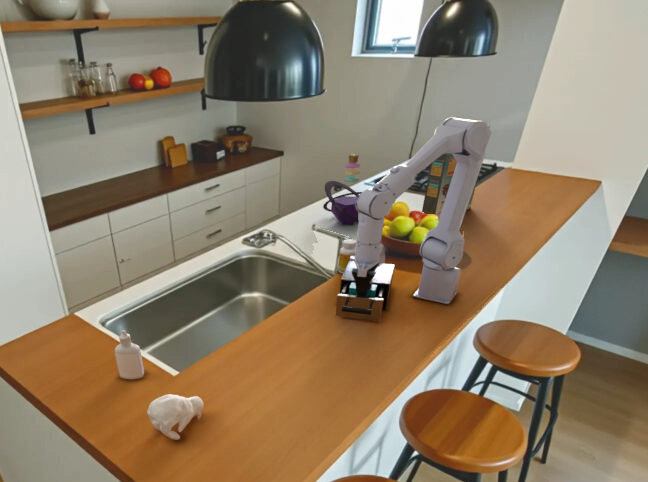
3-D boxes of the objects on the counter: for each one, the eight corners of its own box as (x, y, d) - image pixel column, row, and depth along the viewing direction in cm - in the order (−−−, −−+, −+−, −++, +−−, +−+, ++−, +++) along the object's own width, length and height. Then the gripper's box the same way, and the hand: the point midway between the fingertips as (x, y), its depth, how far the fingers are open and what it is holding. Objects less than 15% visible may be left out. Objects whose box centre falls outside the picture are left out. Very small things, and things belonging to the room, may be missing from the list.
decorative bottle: (366, 234, 176) (375, 162, 162) (312, 228, 185) (315, 160, 171) (381, 216, 192) (390, 149, 178) (330, 212, 201) (334, 148, 187)
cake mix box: (456, 205, 197) (474, 124, 180) (470, 208, 192) (489, 125, 175) (421, 216, 188) (436, 132, 171) (434, 219, 184) (451, 134, 167)
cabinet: (385, 310, 128) (389, 284, 123) (338, 304, 132) (341, 279, 128) (390, 289, 138) (394, 264, 133) (347, 284, 142) (349, 260, 138)
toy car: (375, 295, 125) (378, 279, 123) (373, 301, 122) (376, 284, 120) (350, 292, 128) (352, 276, 125) (348, 298, 125) (349, 282, 122)
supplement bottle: (356, 274, 147) (359, 244, 142) (338, 274, 148) (340, 244, 143) (355, 268, 152) (358, 238, 146) (337, 267, 153) (340, 238, 147)
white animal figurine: (142, 397, 89) (189, 374, 96) (145, 433, 93) (190, 408, 100) (164, 411, 85) (212, 386, 92) (166, 448, 89) (212, 421, 96)
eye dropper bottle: (134, 384, 108) (125, 338, 101) (117, 376, 110) (107, 331, 104) (147, 374, 110) (139, 329, 104) (130, 367, 113) (121, 323, 107)
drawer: (377, 330, 118) (380, 309, 114) (331, 324, 122) (333, 303, 118) (385, 300, 130) (388, 280, 127) (343, 295, 135) (345, 276, 131)
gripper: (356, 230, 123) (351, 279, 131) (346, 250, 113) (341, 302, 120) (385, 232, 121) (378, 281, 128) (378, 252, 110) (371, 305, 118)
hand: (362, 291), depth 124 cm, fingers closed on toy car, 4 cm apart
